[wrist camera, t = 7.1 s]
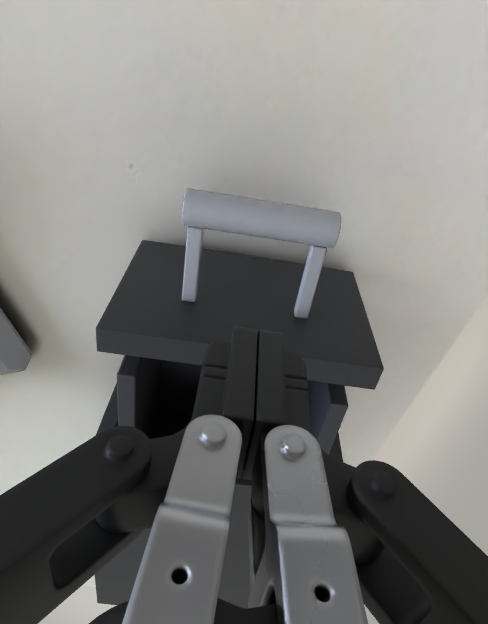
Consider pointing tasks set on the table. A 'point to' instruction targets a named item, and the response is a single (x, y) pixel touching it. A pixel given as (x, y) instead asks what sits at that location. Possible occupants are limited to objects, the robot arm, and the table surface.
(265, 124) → the table surface
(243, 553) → the cabinet
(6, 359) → the grey zigzag star board
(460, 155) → the table surface
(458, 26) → the table surface
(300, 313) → the drawer
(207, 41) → the table surface
